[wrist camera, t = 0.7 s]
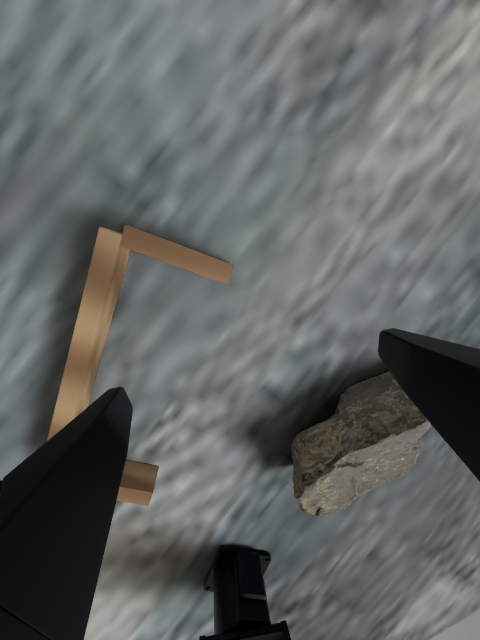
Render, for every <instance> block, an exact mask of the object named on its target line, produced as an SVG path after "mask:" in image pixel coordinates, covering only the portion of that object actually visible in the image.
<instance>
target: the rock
mask: <svg viewBox="0 0 480 640" xmlns="http://www.w3.org/2000/svg"><path fill="white" fill-rule="evenodd" d="M430 425H431V423H430V422H429V421H428V420H427V419H426V417H425V416H424V415H423V414H422V413H421V412H420V410H419V409H418V408H417V407H416V406H415V405H414V403H413V402H412V401H411V400H410V399H409V397H408V396H407V395H406V394H405V392H404V391H403V390H402V388H401V387H400V386H399V384H398V383H397V381H396V380H395V378H394V377H393V375H392V374H391V372H390V371H388V372H386V373H383V374H381V375H379V376H376V377H372V378H369V379H367V380H365V381H363V382H360V383H357V384H355V385H353V386H351V387H349V388H347V389H346V390H345V392H344V393H343V394H341V396H340V398H339V401H338V406H337V408H336V412H335V414H334V415H332V416H331V418H330V419H328V420H326V421H324V422H321V423H318V424H316V425H314V426H312V427H310V428H308V429H306V430H303V431H302V432H300V433H299V434H297V435H296V436H295V438H294V439H293V441H292V445H291V457H292V460H293V468H294V471H293V483H294V487H293V488H294V496H295V498H296V499H298V501H299V504H300V508H301V510H302V511H303V512H305V513H307V514H311V515H317V516H325V515H329V514H332V513H334V512H336V511H339V510H342V509H344V508H347V507H348V506H349V505H351V502H352V501H353V500H355V499H356V498H357V497H358V496H361V495H363V494H365V493H367V492H369V491H371V490H372V489H374V488H376V487H378V486H380V485H382V484H385V483H387V482H389V481H392V480H394V479H397V478H399V477H402V476H403V475H404V474H405V473H407V472H409V471H410V470H412V468H413V466H414V465H415V462H416V459H417V458H418V457H419V454H420V437H421V436H422V435H424V433H425V432H426V431H427V430H428V429H429V428H430Z"/></svg>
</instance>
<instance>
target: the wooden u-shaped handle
mask: <svg viewBox="0 0 480 640" xmlns="http://www.w3.org/2000/svg"><path fill="white" fill-rule="evenodd" d="M130 250H133V251H136V252H138V253H141V254H144V255H147V256H149V257H152V258H155V259H158V260H161V261H163V262H166V263H169V264H172V265H174V266H177V267H180V268H183V269H186V270H188V271H191V272H194V273H197V274H199V275H202V276H205V277H208V278H211V279H213V280H216V281H219V282H222V283H224V284H227V285H228V282H229V279H230V276H231V273H232V271H233V268H234V265H232V264H230V263H227V262H224V261H222V260H219V259H216V258H214V257H211V256H208V255H206V254H203V253H201V252H198V251H195V250H193V249H190V248H187V247H185V246H182V245H179V244H177V243H174V242H171V241H169V240H166V239H163V238H161V237H158V236H156V235H153V234H150V233H148V232H145V231H142V230H140V229H137V228H134V227H131V226H128V225H126V224H125V226H124V230H123V233H120V232H118V231H115V230H111V229H107V228H103V227H99V231H98V235H97V239H96V243H95V247H94V251H93V255H92V259H91V263H90V267H89V271H88V275H87V280H86V284H85V288H84V292H83V296H82V300H81V304H80V308H79V312H78V316H77V320H76V324H75V329H74V333H73V337H72V341H71V345H70V349H69V353H68V357H67V361H66V365H65V369H64V373H63V378H62V382H61V386H60V390H59V394H58V398H57V402H56V406H55V410H54V414H53V418H52V422H51V427H50V431H49V435H48V439H47V441H48V440H49V439H50V438H52V437H53V436H54V435H55V434H56V433H57V432H59V431H60V430H61V429H62V428H63V427H65V426H66V425H67V424H68V423H69V422H71V421H72V420H73V419H74V418H75V417H76V416H78V415H79V414H80V413H81V412H82V411H84V410H85V409H86V408H87V407H88V404H89V400H90V397H91V393H92V389H93V386H94V382H95V378H96V375H97V371H98V367H99V364H100V360H101V356H102V353H103V349H104V345H105V342H106V338H107V335H108V331H109V327H110V324H111V320H112V316H113V313H114V309H115V305H116V302H117V298H118V294H119V291H120V287H121V283H122V280H123V276H124V272H125V269H126V265H127V261H128V258H129V254H130ZM158 468H159V466H154V465H149V464H144V463H139V462H134V461H129V460H126V462H125V466H124V470H123V475H122V479H121V483H120V487H119V492H118V496H117V500H118V501H124V502H130V503H136V504H141V505H147V506H148V505H149V502H150V499H151V496H152V494H153V490H154V485H155V481H156V477H157V472H158Z"/></svg>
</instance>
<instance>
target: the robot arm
mask: <svg viewBox="0 0 480 640" xmlns="http://www.w3.org/2000/svg"><path fill="white" fill-rule="evenodd" d="M378 353H379V356H380V358H381V359H382V361H383V362H384V364H385V365H386V367H387V368H388V370H389V371H390V372H391V374H392V375H393V377H394V378H395V380H396V381H397V383H398V384H399V386H400V387H401V388H402V390H403V391H404V392H405V394H406V395H407V396H408V397H409V399H410V400H411V401H412V402H413V403H414V405H415V406H416V407H417V408H418V409H419V410H420V412H421V413H422V414H423V415H424V416H425V417H426V419H427V420H428V421H429V422H430V423H431V425H432V426H433V427H434V428H435V429H436V430H437V432H438V433H439V434H440V435H441V436H442V438H443V439H444V440H445V441H446V442H447V443H448V445H449V446H450V447H451V448H452V449H453V450H454V452H455V453H456V454H457V455H458V456H459V458H460V459H461V460H462V461H463V462H464V463H465V465H466V466H467V467H468V468H469V469H470V471H471V472H472V473H473V474H474V475H475V476H476V478H477V479H478V480H479V481H480V349H477V348H473V347H469V346H465V345H460V344H456V343H452V342H448V341H444V340H440V339H436V338H432V337H428V336H423V335H419V334H415V333H411V332H407V331H403V330H399V329H395V328H391V329H386V330H382V331H381V332H380V334H379V345H378ZM132 412H133V409H132V404H131V402H130V400H129V398H128V396H127V394H126V392H125V390H124V388H123V387H116V388H112V389H109V390H107V391H106V392H105V393H104V394H103V395H101V396H100V397H99V398H98V399H97V400H96V401H94V402H93V403H92V404H91V405H90V406H88V407H87V408H86V409H85V410H84V411H82V412H81V413H80V414H79V415H78V416H76V417H75V418H74V419H73V420H72V421H71V422H69V423H68V424H67V425H66V426H65V427H63V428H62V429H61V430H60V431H59V432H57V433H56V434H55V435H54V436H53V437H52V438H50V439H49V440H48V441H47V442H46V443H44V444H43V445H42V446H41V447H40V448H38V449H37V450H36V451H35V452H34V453H32V454H31V455H30V456H29V457H28V458H27V459H25V460H24V461H23V462H22V463H21V464H19V465H18V466H17V467H16V468H15V469H13V470H12V471H11V472H10V473H9V474H8V475H6V476H5V477H4V478H3V481H2V480H1V481H0V640H84V636H85V631H86V627H87V623H88V619H89V615H90V610H91V606H92V602H93V598H94V593H95V589H96V585H97V581H98V576H99V572H100V568H101V564H102V559H103V555H104V551H105V547H106V542H107V538H108V534H109V530H110V526H111V521H112V517H113V513H114V509H115V504H116V500H117V496H118V492H119V487H120V483H121V479H122V475H123V470H124V466H125V462H126V457H127V452H128V445H129V436H130V428H131V420H132ZM270 561H271V555H270V553H266V552H259V551H253V550H246V549H239V548H232V547H225V546H223V547H221V548H220V549H219V551H218V553H217V555H216V557H215V560H214V562H213V564H212V566H211V569H210V571H209V573H208V575H207V578H206V580H205V582H204V590H205V591H212V592H214V635H212V636H207V637H205V636H200V640H291V638H290V634H289V630H288V626H287V623H286V620H284V621H281V623H276V624H271V622H270V616H269V610H268V604H267V599H266V591H265V585H264V579H263V575H264V573H265V571H266V569H267V567H268V565H269V563H270Z"/></svg>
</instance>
